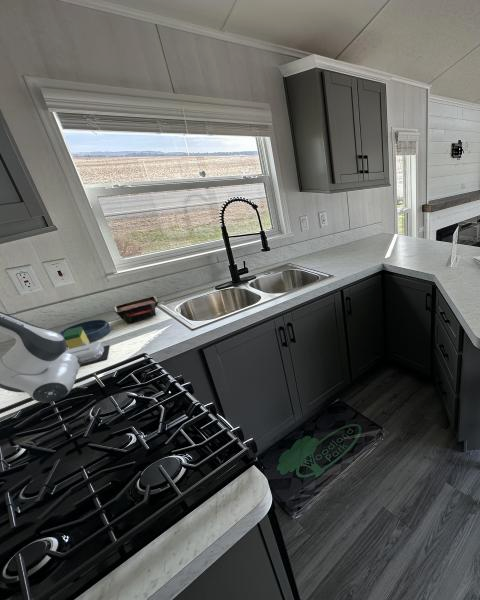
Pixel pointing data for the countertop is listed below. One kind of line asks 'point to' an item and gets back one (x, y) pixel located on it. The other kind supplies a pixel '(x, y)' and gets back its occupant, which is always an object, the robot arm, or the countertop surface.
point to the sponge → (75, 337)
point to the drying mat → (101, 358)
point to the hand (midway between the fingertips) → (68, 348)
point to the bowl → (91, 329)
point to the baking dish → (137, 309)
